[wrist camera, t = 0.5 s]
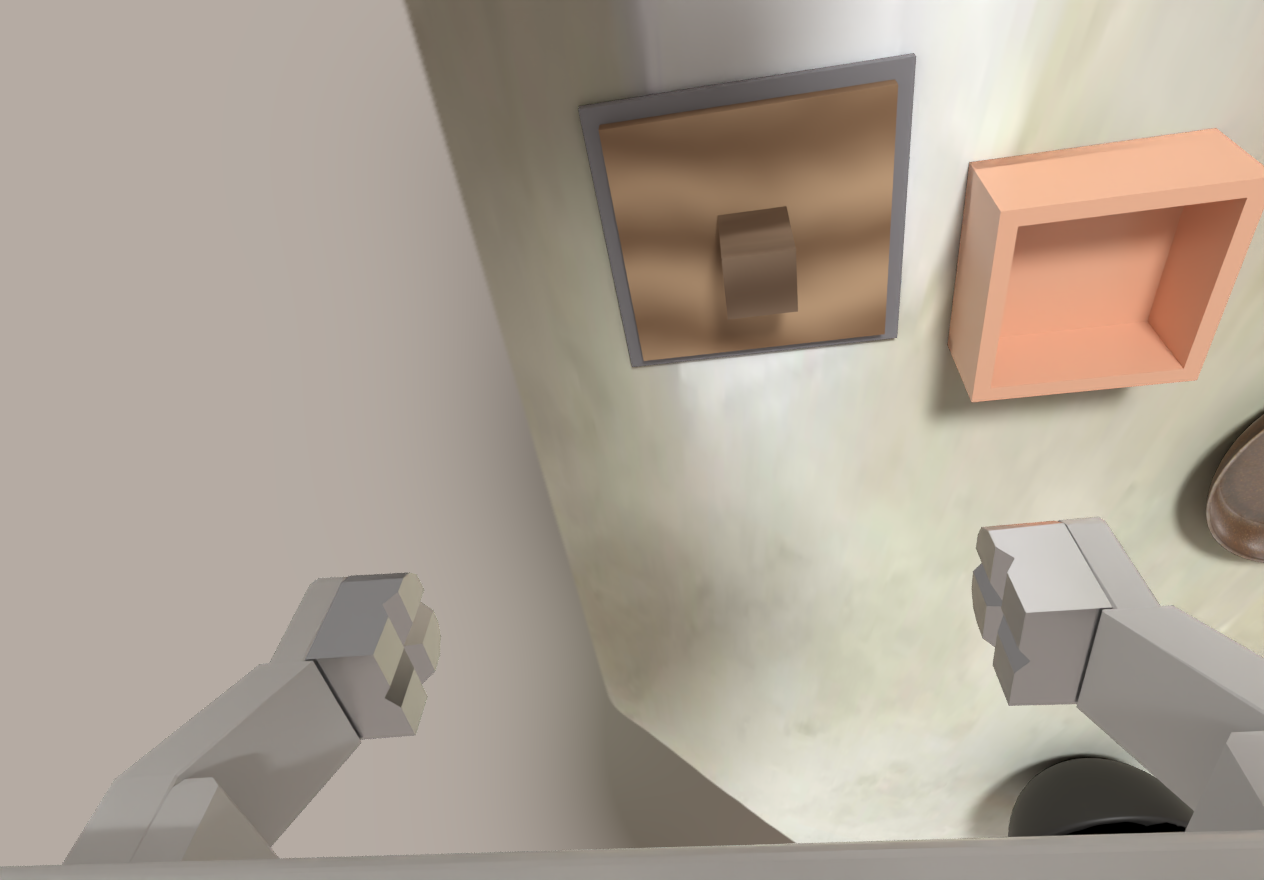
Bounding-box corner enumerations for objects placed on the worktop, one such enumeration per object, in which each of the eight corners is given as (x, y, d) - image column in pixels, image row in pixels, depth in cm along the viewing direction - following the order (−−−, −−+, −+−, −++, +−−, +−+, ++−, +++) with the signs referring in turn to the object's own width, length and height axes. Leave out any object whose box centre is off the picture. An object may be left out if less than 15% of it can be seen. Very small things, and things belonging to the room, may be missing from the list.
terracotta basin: (969, 162, 46) (1000, 211, 42) (1216, 128, 44) (1276, 175, 40) (947, 345, 55) (971, 402, 50) (1153, 323, 53) (1196, 380, 48)
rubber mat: (578, 106, 45) (578, 109, 44) (914, 53, 42) (915, 56, 42) (632, 362, 57) (632, 367, 56) (895, 333, 54) (897, 337, 54)
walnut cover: (599, 124, 45) (591, 169, 41) (895, 79, 43) (919, 121, 38) (644, 354, 55) (641, 408, 51) (882, 327, 53) (900, 381, 49)
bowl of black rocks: (1032, 816, 104) (1087, 986, 90) (955, 760, 95) (1003, 942, 81) (1196, 772, 94) (1285, 956, 81) (1128, 705, 85) (1216, 901, 71)
